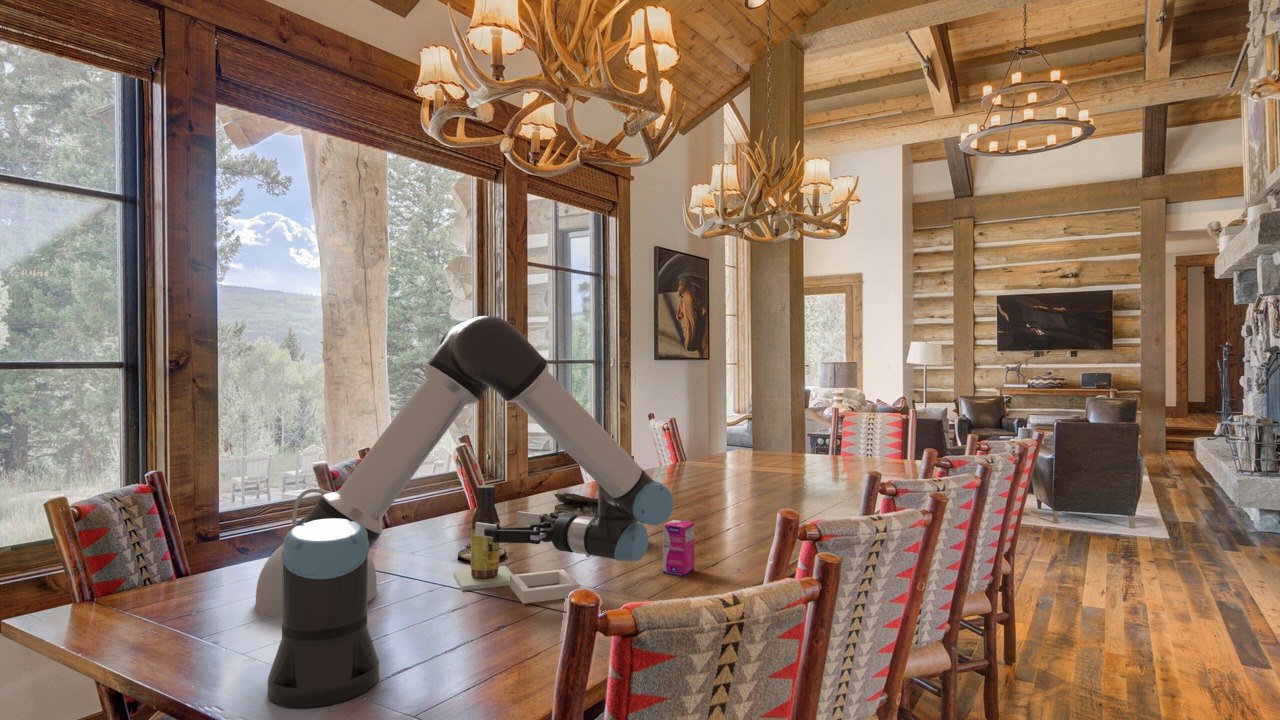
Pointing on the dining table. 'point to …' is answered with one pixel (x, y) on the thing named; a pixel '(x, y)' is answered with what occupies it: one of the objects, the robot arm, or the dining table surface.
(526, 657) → the dining table surface
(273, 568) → the kettle
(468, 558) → the burger
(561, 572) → the pocket frame
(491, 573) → the sauce bottle
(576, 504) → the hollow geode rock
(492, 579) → the plate
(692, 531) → the supplement box
